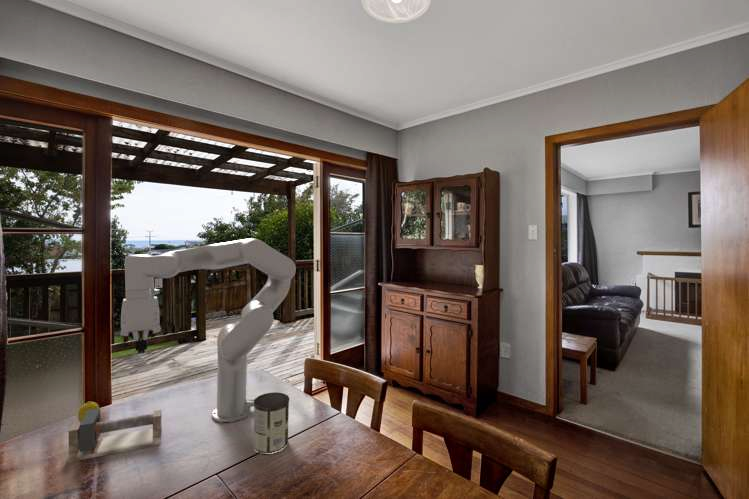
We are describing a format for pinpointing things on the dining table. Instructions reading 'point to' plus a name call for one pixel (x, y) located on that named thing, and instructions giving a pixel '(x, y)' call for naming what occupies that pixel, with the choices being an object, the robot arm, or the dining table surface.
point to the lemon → (86, 409)
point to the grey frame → (89, 430)
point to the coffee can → (271, 422)
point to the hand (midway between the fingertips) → (141, 351)
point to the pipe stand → (117, 436)
